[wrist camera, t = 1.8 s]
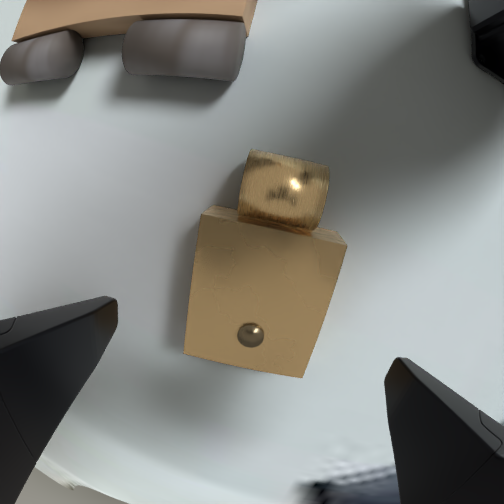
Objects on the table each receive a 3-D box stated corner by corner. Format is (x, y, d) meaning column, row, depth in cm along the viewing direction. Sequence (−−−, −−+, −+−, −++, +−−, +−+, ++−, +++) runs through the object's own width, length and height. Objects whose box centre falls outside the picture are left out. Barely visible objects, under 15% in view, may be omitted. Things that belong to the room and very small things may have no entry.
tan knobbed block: (300, 350, 16) (302, 383, 14) (194, 328, 16) (181, 358, 14) (351, 172, 13) (368, 176, 11) (224, 144, 13) (211, 141, 11)
